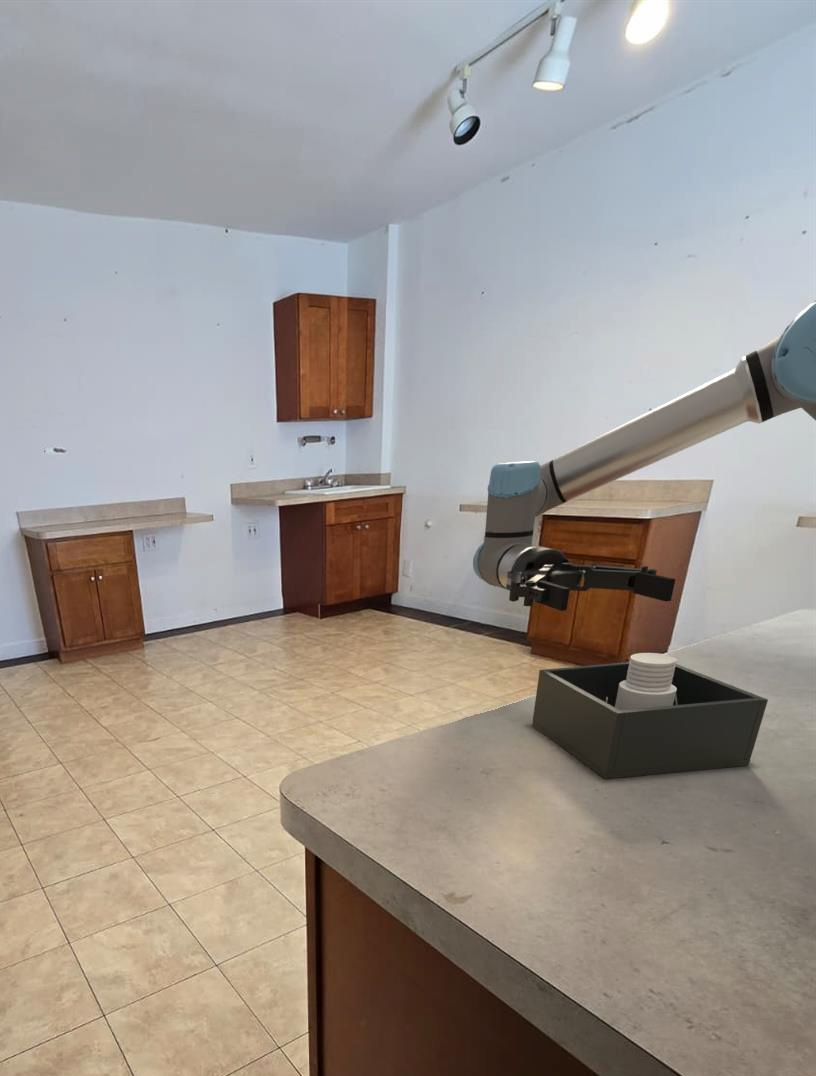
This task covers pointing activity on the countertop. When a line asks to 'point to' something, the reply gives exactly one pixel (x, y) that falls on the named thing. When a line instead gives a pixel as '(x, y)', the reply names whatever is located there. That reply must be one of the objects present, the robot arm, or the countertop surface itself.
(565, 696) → the dark grey open box
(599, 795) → the countertop surface
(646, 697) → the downlight
